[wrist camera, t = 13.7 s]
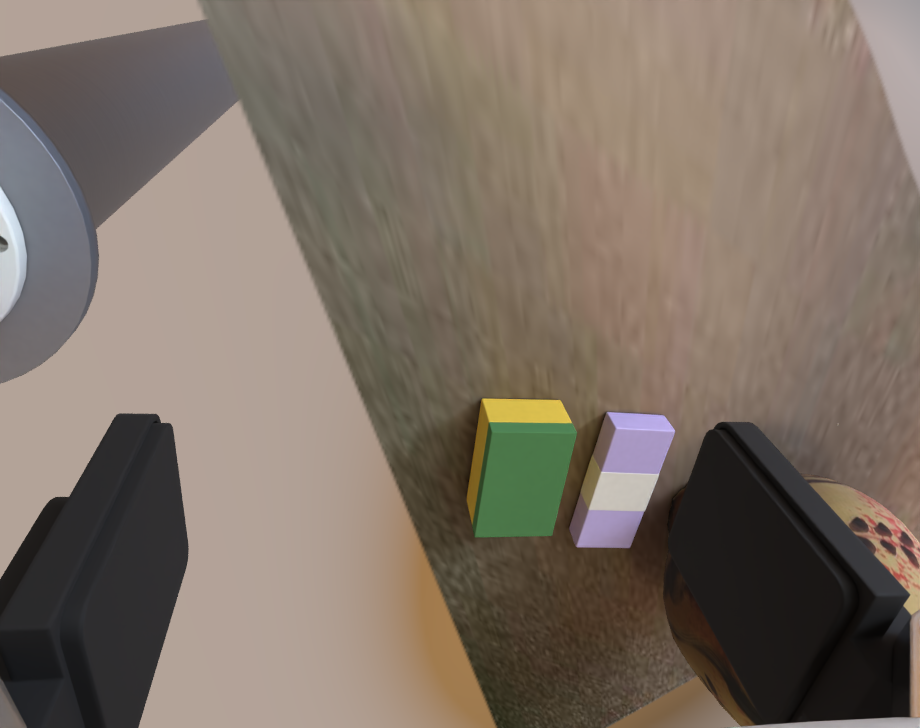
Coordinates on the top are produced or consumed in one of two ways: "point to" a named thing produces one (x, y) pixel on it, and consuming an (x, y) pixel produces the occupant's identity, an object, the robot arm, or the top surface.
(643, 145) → the top surface
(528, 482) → the sponge
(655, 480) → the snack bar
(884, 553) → the ceramic jug
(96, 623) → the robot arm
